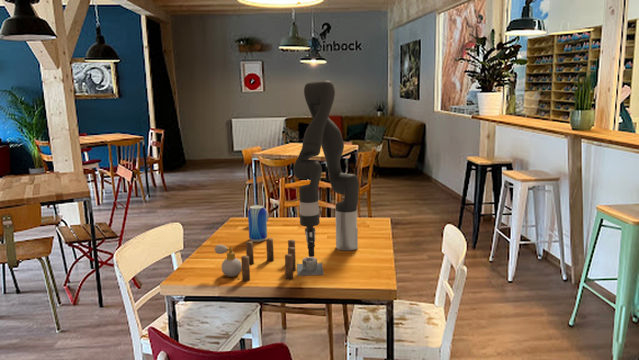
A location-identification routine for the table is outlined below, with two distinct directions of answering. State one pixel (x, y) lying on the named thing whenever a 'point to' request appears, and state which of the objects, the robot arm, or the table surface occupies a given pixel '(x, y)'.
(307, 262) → the nut
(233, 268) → the perfume bottle
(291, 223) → the table surface
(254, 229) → the beer can
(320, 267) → the felt mat
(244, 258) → the post field
